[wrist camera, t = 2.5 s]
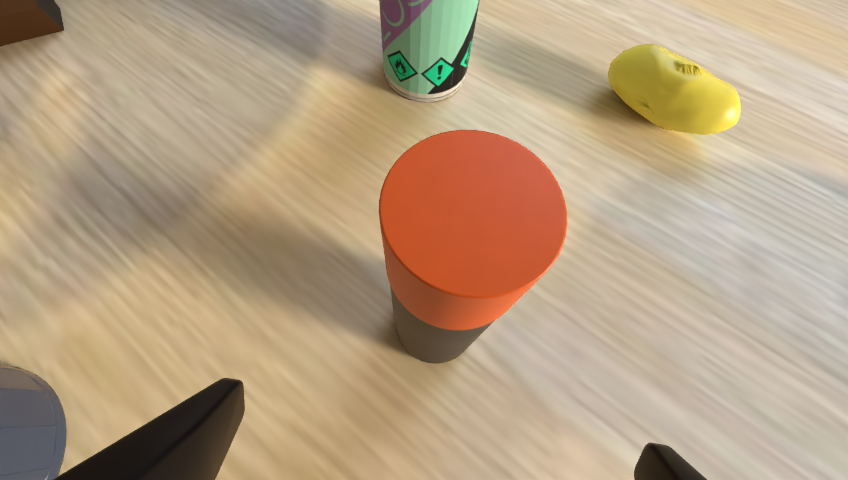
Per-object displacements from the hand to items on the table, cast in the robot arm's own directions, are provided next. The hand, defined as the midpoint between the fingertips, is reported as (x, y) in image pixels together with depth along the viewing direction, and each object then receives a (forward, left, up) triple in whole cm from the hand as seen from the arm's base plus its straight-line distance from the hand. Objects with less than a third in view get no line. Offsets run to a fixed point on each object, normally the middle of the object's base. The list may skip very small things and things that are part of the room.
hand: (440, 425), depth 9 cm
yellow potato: (+15, -19, -11) cm, 26 cm away
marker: (+4, -2, -10) cm, 11 cm away
